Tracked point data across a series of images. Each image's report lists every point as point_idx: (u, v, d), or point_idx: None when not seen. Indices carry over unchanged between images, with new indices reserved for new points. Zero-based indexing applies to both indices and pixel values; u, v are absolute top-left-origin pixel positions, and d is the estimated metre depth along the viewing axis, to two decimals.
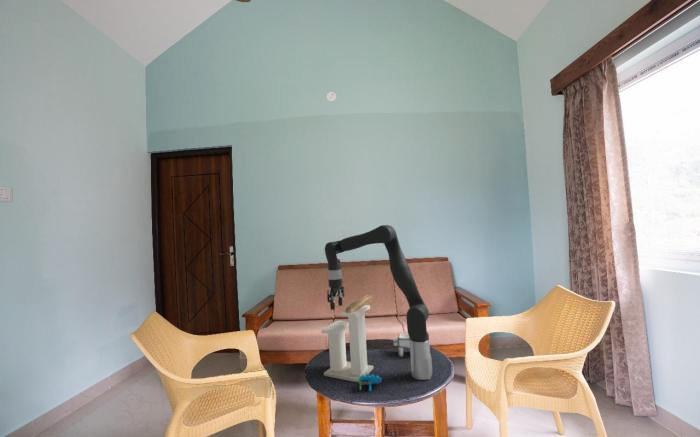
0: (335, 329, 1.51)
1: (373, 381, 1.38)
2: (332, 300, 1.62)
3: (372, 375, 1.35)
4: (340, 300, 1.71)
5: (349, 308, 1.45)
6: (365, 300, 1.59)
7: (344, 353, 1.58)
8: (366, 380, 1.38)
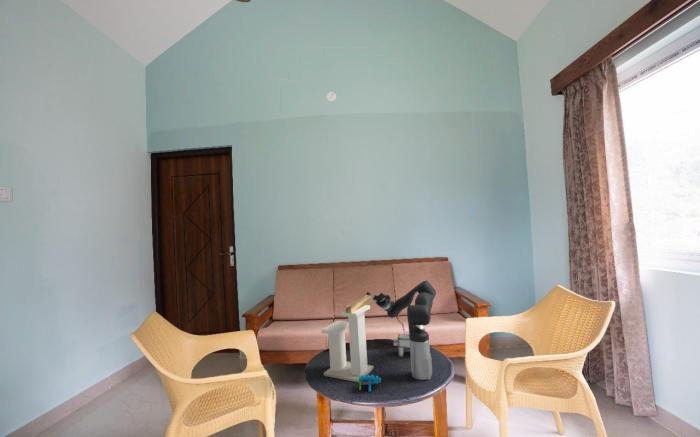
0: (335, 329, 1.51)
1: (373, 381, 1.38)
2: None
3: (372, 375, 1.34)
4: None
5: (349, 308, 1.45)
6: (365, 300, 1.59)
7: (344, 353, 1.58)
8: (366, 380, 1.38)
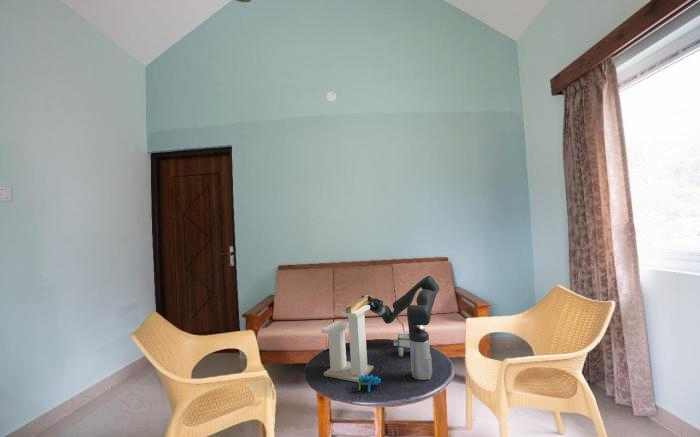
0: (335, 329, 1.51)
1: (373, 382, 1.38)
2: None
3: (371, 376, 1.34)
4: None
5: (349, 308, 1.45)
6: (365, 300, 1.59)
7: (344, 353, 1.58)
8: (365, 381, 1.37)
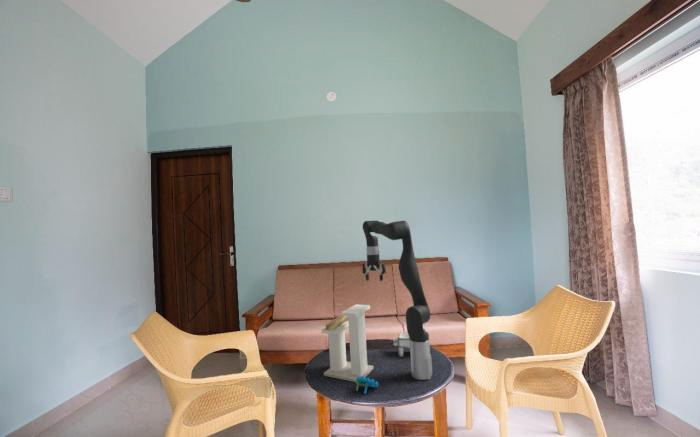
0: (335, 329, 1.51)
1: (371, 384, 1.36)
2: (364, 272, 1.86)
3: (367, 378, 1.32)
4: None
5: (329, 326, 1.51)
6: (346, 316, 1.65)
7: (344, 353, 1.58)
8: (363, 382, 1.36)
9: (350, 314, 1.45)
